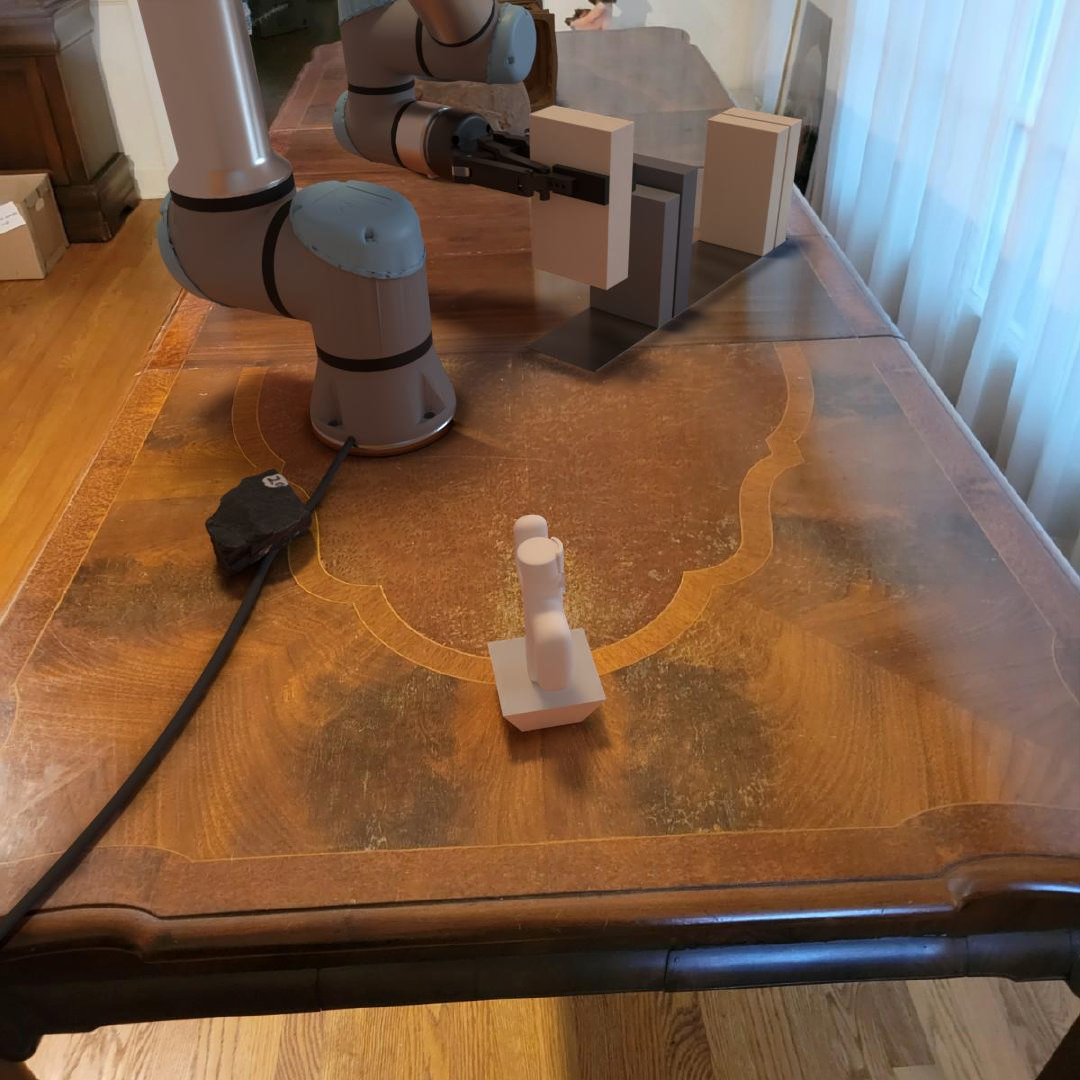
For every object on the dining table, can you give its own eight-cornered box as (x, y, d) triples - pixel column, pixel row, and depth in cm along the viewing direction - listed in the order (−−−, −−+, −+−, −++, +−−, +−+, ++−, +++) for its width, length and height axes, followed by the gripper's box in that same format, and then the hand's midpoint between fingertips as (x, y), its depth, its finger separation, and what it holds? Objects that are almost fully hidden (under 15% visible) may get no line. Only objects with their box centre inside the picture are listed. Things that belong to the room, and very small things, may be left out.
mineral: (189, 534, 89) (173, 482, 85) (281, 497, 93) (269, 446, 89) (234, 594, 82) (219, 540, 79) (331, 552, 87) (321, 499, 83)
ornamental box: (471, 82, 217) (454, -11, 206) (550, 67, 216) (537, -28, 205) (477, 124, 189) (457, 19, 178) (567, 107, 189) (553, 1, 177)
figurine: (508, 763, 68) (496, 604, 59) (487, 666, 75) (475, 511, 66) (609, 745, 69) (614, 587, 60) (579, 651, 76) (580, 497, 67)
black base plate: (594, 381, 109) (594, 372, 108) (524, 356, 114) (524, 346, 113) (788, 246, 136) (789, 238, 135) (725, 230, 141) (726, 222, 140)
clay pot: (404, 186, 158) (393, 87, 149) (412, 146, 175) (403, 54, 165) (534, 182, 159) (531, 83, 149) (530, 142, 175) (528, 50, 165)
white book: (606, 290, 103) (611, 131, 93) (531, 267, 108) (528, 114, 98) (628, 277, 105) (634, 121, 95) (554, 255, 110) (553, 105, 100)
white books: (762, 256, 131) (778, 132, 121) (697, 240, 136) (707, 119, 126) (785, 241, 135) (802, 119, 125) (721, 225, 140) (733, 107, 130)
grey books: (658, 328, 115) (666, 183, 105) (589, 306, 120) (590, 166, 110) (687, 308, 119) (698, 166, 109) (619, 288, 124) (623, 150, 114)
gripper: (498, 158, 116) (665, 197, 105) (396, 199, 106) (569, 248, 94) (495, 90, 112) (669, 124, 100) (388, 126, 101) (569, 168, 90)
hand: (620, 184), depth 97 cm, fingers closed on white book, 4 cm apart
